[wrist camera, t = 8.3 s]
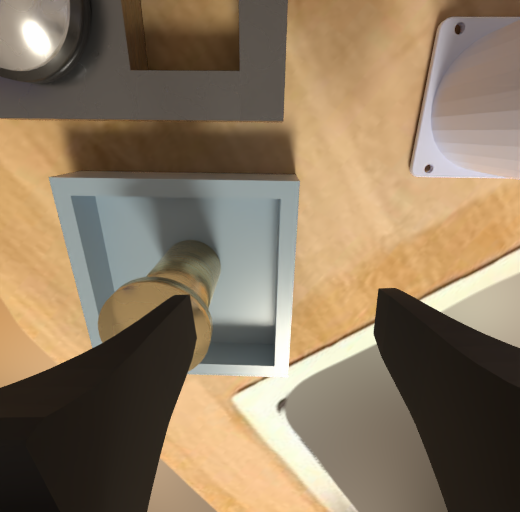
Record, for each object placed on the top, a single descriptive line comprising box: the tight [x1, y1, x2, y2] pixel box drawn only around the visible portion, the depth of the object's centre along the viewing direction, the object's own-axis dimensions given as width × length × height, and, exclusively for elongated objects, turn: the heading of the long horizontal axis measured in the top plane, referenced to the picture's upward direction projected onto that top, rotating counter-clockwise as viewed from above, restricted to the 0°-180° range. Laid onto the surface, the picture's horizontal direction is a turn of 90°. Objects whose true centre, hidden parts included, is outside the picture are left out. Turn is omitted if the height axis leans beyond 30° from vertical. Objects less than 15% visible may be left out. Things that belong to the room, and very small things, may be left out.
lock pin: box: [98, 240, 221, 372], centre depth 17 cm, size 5×5×8 cm
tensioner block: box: [0, 0, 288, 122], centre depth 14 cm, size 16×10×4 cm, turn 89°
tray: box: [49, 171, 300, 377], centre depth 21 cm, size 14×14×3 cm
